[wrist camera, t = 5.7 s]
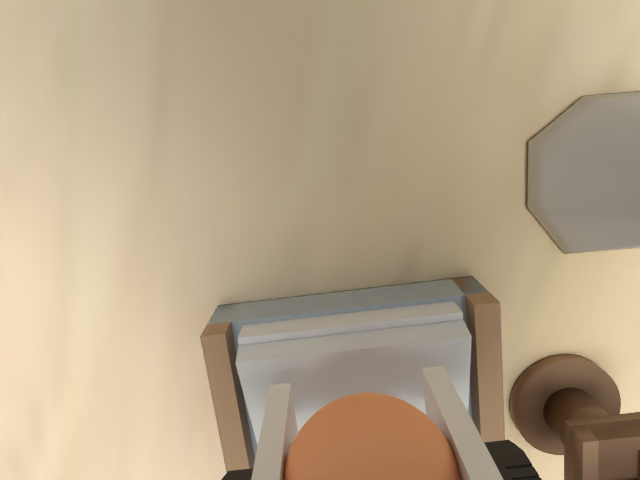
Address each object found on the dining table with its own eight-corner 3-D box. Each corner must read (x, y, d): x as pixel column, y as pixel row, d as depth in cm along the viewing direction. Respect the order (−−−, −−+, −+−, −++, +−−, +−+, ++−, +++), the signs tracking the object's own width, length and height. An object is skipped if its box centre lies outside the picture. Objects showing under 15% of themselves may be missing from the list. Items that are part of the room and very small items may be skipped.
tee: (507, 360, 23) (561, 426, 18) (611, 348, 23) (695, 411, 18) (510, 449, 24) (562, 535, 19) (609, 439, 24) (688, 522, 19)
